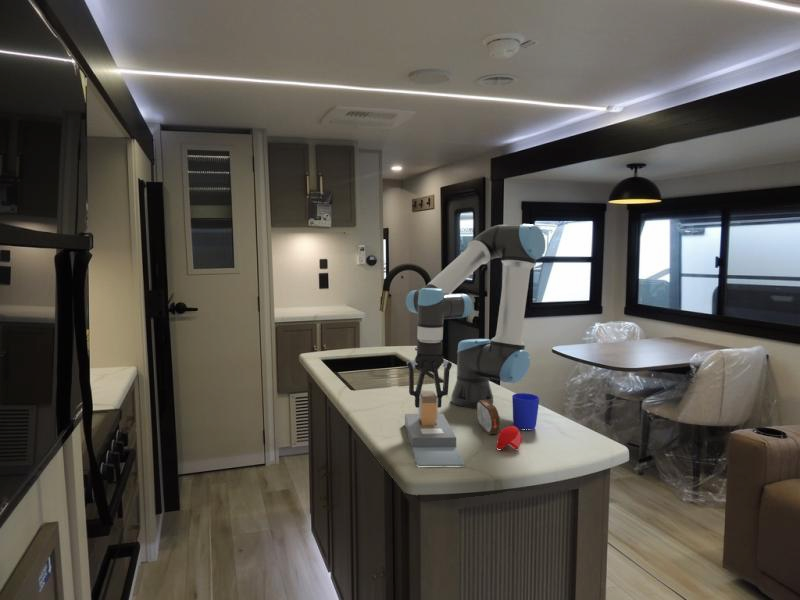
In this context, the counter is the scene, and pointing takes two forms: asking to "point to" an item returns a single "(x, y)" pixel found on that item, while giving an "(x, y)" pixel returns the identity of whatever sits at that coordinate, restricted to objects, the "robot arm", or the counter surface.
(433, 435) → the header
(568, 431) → the counter surface
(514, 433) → the cap
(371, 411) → the counter surface
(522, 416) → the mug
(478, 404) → the tin
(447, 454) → the mat
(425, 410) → the plug
